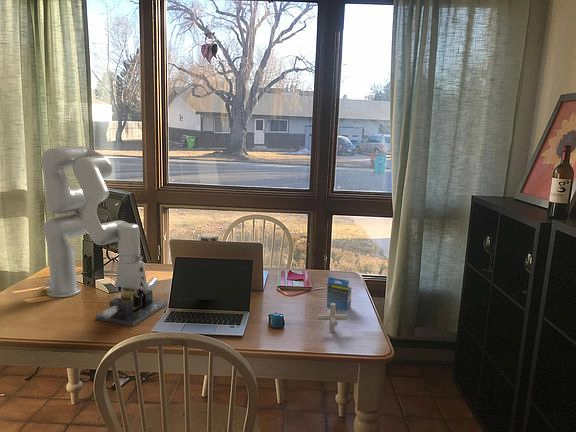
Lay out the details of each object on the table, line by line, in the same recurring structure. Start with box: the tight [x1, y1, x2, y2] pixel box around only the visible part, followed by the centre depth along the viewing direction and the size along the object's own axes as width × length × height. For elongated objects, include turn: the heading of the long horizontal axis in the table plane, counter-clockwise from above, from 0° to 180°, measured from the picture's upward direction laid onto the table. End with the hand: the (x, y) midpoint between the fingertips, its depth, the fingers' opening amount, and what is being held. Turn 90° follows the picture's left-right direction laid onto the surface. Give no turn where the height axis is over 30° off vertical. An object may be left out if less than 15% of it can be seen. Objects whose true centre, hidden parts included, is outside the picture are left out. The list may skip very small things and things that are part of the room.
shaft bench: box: [95, 277, 167, 327], centre depth 175 cm, size 16×29×9 cm, turn 160°
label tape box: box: [326, 276, 352, 311], centre depth 184 cm, size 9×4×12 cm, turn 62°
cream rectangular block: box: [120, 286, 143, 311], centre depth 175 cm, size 4×6×7 cm
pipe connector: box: [317, 303, 348, 333], centre depth 163 cm, size 10×10×10 cm
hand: (132, 304), depth 175 cm, fingers closed on cream rectangular block, 4 cm apart
